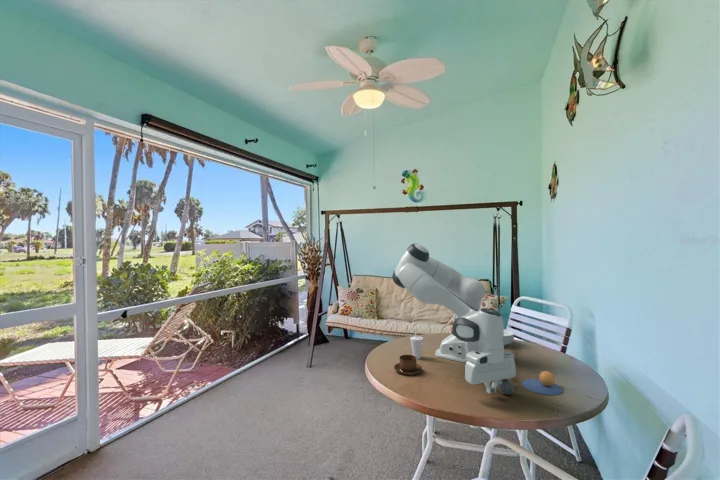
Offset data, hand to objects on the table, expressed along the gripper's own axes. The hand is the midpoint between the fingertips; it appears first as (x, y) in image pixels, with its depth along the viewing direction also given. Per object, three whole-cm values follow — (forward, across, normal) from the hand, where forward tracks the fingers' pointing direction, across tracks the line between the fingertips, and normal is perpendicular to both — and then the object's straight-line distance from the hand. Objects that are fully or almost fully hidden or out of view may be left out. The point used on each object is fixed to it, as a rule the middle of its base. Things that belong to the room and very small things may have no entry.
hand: (491, 392), depth 123 cm
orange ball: (-1, -27, 0) cm, 27 cm away
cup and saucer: (+2, +17, -32) cm, 37 cm away
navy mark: (+2, -24, 0) cm, 24 cm away
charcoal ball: (-1, -6, 0) cm, 7 cm away
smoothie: (+2, +5, -46) cm, 46 cm away
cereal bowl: (+2, -47, -50) cm, 69 cm away
